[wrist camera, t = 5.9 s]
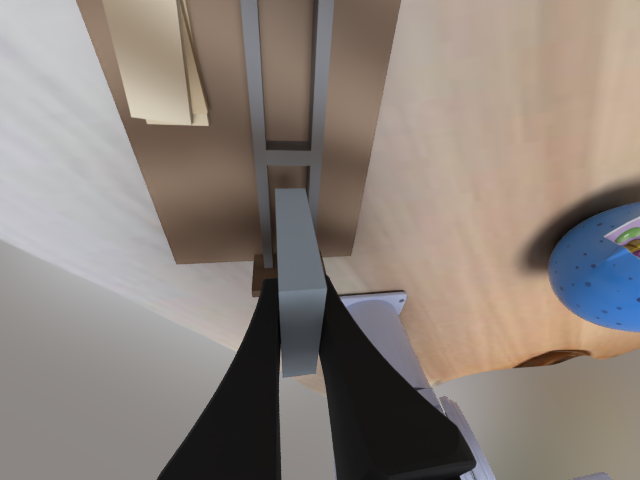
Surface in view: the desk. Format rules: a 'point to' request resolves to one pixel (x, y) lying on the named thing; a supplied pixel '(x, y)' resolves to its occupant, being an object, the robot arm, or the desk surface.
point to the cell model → (601, 268)
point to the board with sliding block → (264, 124)
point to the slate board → (298, 283)
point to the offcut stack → (158, 60)
